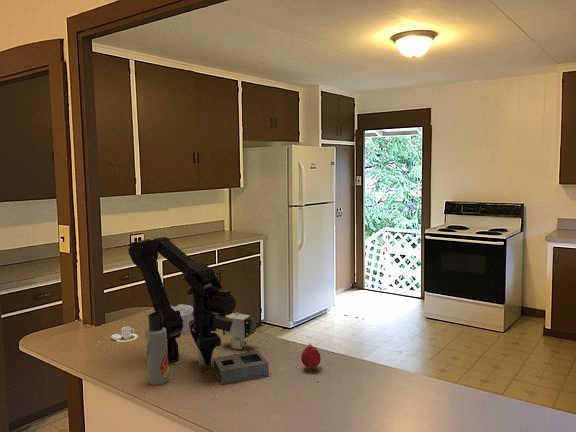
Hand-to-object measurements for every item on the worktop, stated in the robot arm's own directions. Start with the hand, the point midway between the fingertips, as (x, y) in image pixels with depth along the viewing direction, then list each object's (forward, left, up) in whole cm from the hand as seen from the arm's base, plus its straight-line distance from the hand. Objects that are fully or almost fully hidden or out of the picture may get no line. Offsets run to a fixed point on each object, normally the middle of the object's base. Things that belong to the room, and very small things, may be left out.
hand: (205, 359), depth 148 cm
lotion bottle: (-14, -2, -3) cm, 14 cm away
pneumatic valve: (+14, +13, -3) cm, 19 cm away
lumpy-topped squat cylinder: (-2, +39, -3) cm, 39 cm away
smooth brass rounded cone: (0, 0, -3) cm, 3 cm away
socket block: (+9, -7, -3) cm, 12 cm away
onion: (+29, -13, -3) cm, 32 cm away
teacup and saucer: (-22, +41, -4) cm, 47 cm away
